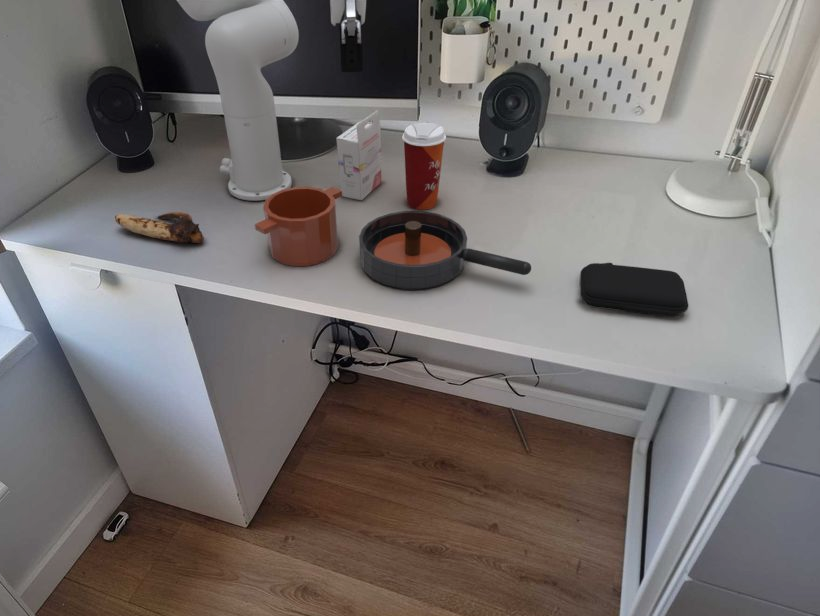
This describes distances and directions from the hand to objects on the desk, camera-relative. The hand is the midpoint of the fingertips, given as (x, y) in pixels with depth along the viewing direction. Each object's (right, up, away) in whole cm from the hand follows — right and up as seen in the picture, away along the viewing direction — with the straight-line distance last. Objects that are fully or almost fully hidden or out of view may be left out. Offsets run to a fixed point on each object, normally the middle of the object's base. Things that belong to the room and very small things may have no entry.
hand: (351, 60), depth 98 cm
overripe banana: (-34, -23, +18) cm, 45 cm away
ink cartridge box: (+2, -13, +28) cm, 31 cm away
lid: (+10, -29, +7) cm, 31 cm away
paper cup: (+13, -17, +23) cm, 31 cm away
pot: (-8, -27, +12) cm, 30 cm away
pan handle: (+22, -32, +1) cm, 39 cm away
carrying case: (+42, -36, -2) cm, 55 cm away
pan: (+10, -30, +8) cm, 32 cm away
